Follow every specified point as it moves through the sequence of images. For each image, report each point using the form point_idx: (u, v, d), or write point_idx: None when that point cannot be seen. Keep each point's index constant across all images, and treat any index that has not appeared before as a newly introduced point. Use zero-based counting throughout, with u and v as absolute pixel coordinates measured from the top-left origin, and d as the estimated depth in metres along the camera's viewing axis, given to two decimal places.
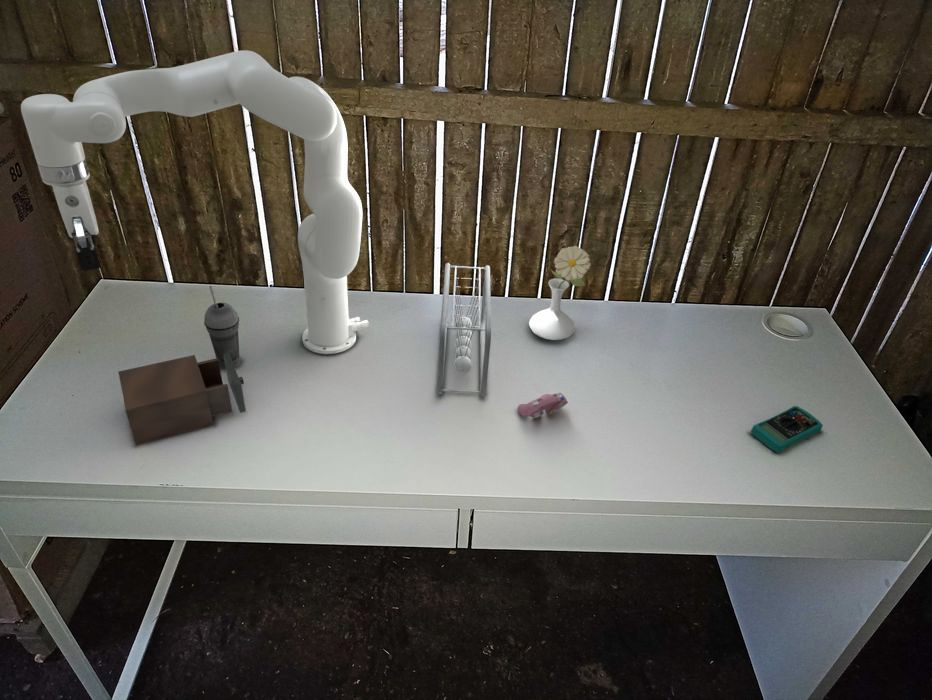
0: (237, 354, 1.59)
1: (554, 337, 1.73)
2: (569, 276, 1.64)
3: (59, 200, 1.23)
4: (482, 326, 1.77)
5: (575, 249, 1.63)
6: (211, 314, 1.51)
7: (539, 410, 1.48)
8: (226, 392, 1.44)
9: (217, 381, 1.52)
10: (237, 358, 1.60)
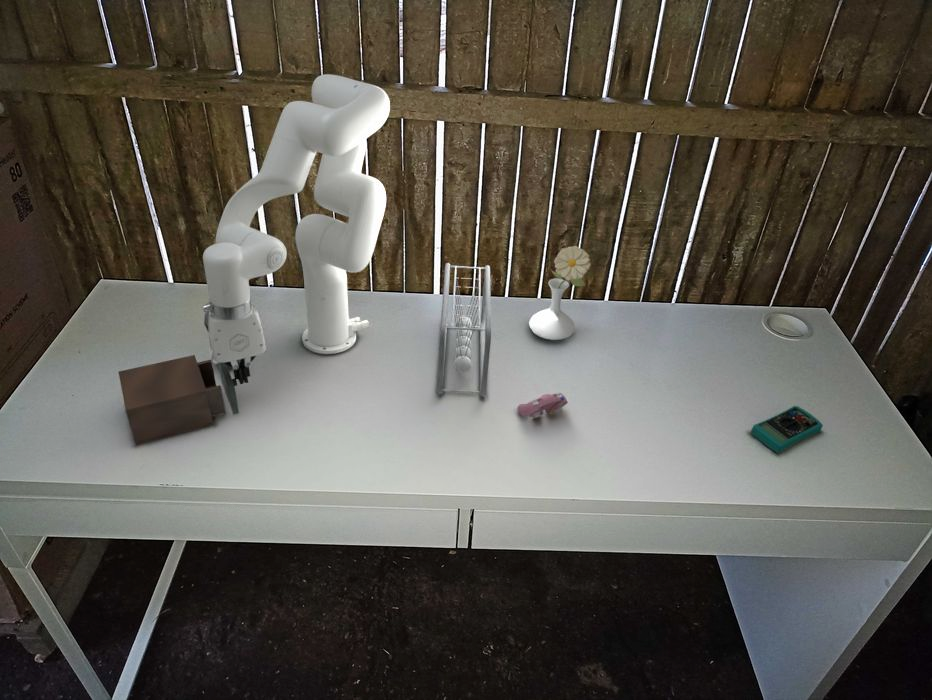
0: None
1: (554, 337, 1.73)
2: (569, 276, 1.64)
3: None
4: (482, 326, 1.77)
5: (575, 249, 1.63)
6: None
7: (539, 410, 1.48)
8: (219, 394, 1.43)
9: (210, 383, 1.52)
10: None
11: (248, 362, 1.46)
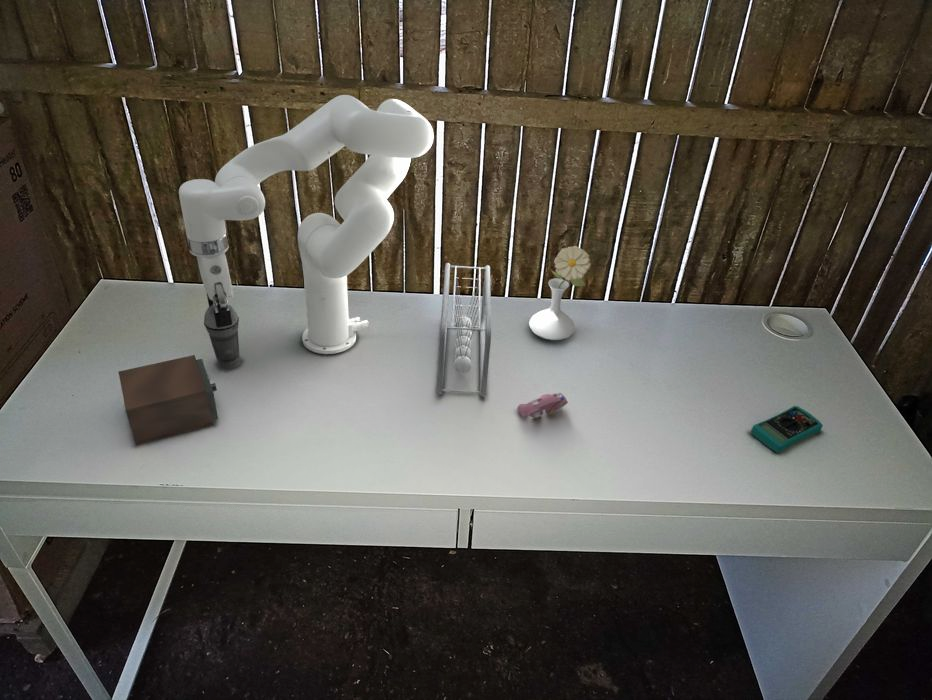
0: (237, 354, 1.59)
1: (554, 337, 1.73)
2: (569, 276, 1.64)
3: (205, 269, 1.42)
4: (482, 326, 1.77)
5: (575, 249, 1.63)
6: (210, 314, 1.51)
7: (539, 410, 1.48)
8: None
9: None
10: (237, 358, 1.60)
11: None
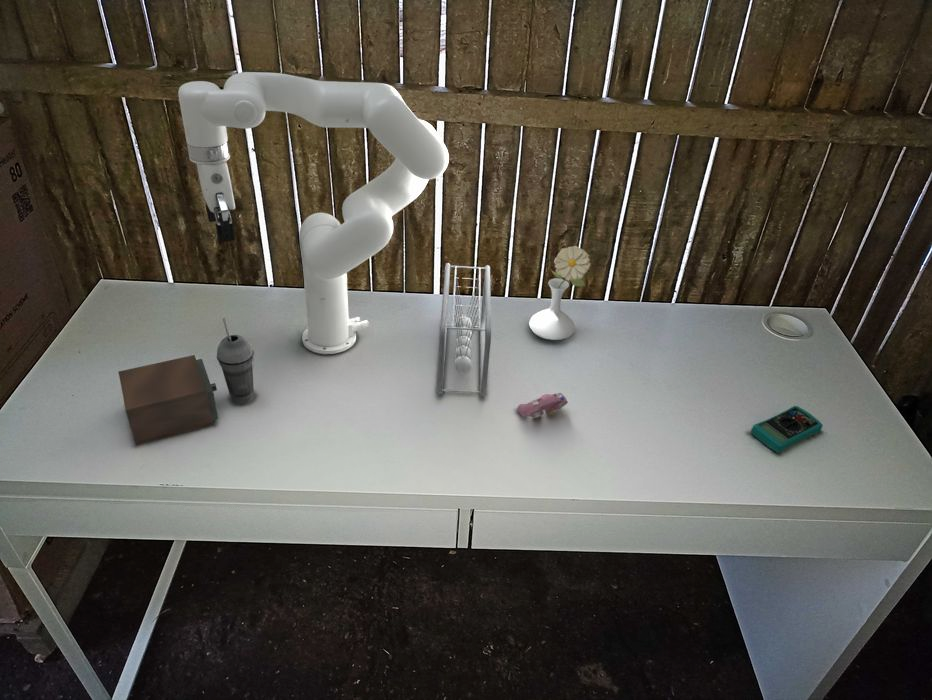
0: (251, 388, 1.50)
1: (554, 337, 1.73)
2: (569, 276, 1.64)
3: (206, 177, 1.36)
4: (482, 326, 1.77)
5: (575, 249, 1.63)
6: (224, 347, 1.42)
7: (539, 410, 1.48)
8: None
9: None
10: (251, 393, 1.50)
11: None
